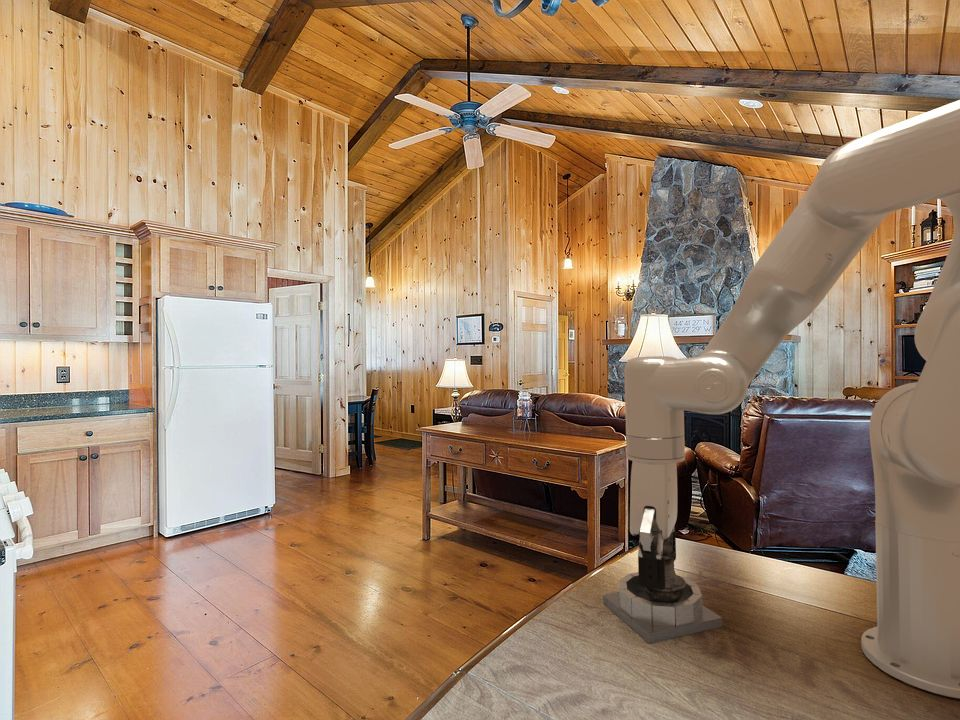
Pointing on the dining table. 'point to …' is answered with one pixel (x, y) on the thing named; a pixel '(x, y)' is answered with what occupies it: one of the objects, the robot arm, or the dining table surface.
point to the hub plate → (662, 630)
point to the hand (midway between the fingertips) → (658, 572)
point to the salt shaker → (667, 577)
